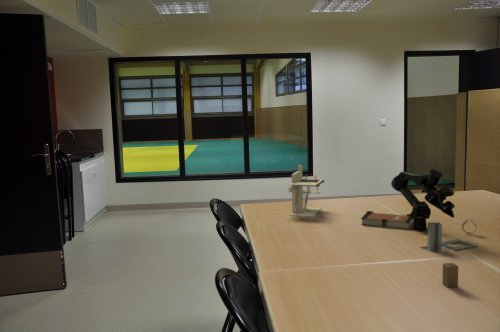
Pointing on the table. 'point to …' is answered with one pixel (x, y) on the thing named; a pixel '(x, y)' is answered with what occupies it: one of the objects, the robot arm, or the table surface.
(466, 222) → the ring
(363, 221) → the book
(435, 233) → the grey clip
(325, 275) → the table surface
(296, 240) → the table surface
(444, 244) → the rail plate
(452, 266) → the wooden block
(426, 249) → the grey square plate
